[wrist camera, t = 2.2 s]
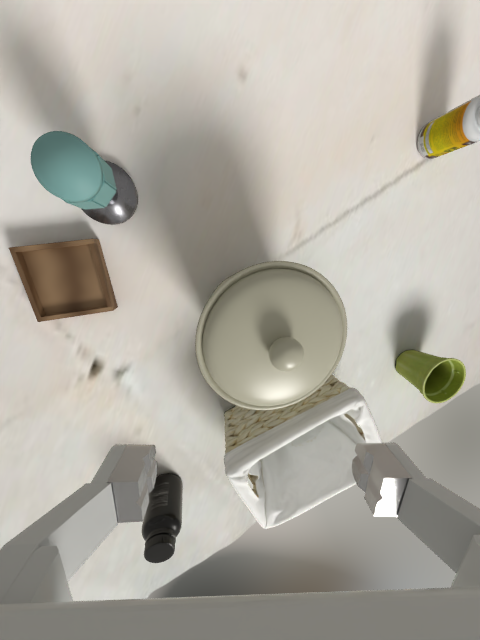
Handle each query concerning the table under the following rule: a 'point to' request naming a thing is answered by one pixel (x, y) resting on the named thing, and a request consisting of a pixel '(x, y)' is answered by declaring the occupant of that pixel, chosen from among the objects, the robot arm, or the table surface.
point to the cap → (72, 170)
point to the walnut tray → (65, 278)
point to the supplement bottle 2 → (451, 130)
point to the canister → (271, 335)
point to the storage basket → (296, 451)
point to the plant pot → (432, 374)
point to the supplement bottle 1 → (162, 518)
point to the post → (117, 200)
